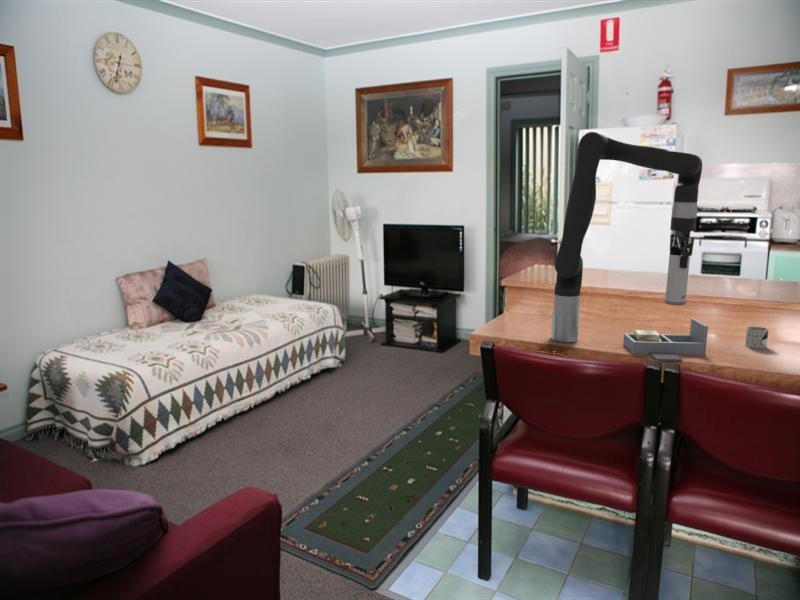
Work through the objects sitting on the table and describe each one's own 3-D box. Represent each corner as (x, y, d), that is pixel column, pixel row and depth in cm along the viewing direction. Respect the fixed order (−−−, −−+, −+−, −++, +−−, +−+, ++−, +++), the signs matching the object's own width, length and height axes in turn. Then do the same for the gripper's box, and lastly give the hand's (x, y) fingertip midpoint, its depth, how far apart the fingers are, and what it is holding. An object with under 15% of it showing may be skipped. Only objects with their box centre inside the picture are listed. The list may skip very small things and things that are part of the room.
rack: (632, 353, 209) (634, 325, 207) (623, 344, 221) (625, 317, 219) (705, 354, 207) (708, 326, 205) (691, 345, 219) (694, 318, 217)
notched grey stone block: (766, 350, 213) (768, 331, 211) (744, 347, 216) (746, 329, 215) (766, 343, 221) (768, 326, 220) (745, 341, 224) (747, 323, 223)
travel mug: (688, 306, 201) (694, 245, 197) (667, 305, 202) (673, 245, 198) (683, 302, 207) (689, 243, 203) (662, 301, 208) (668, 243, 204)
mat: (656, 361, 200) (656, 358, 199) (648, 354, 207) (648, 352, 207) (681, 361, 199) (681, 359, 199) (672, 354, 207) (673, 352, 207)
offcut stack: (636, 351, 212) (637, 334, 211) (633, 345, 219) (634, 329, 218) (660, 352, 211) (662, 335, 209) (657, 347, 217) (658, 331, 216)
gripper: (664, 214, 206) (659, 263, 209) (680, 217, 192) (675, 269, 195) (687, 215, 206) (682, 264, 209) (705, 217, 192) (699, 270, 195)
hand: (679, 266), depth 202 cm, fingers closed on travel mug, 6 cm apart
